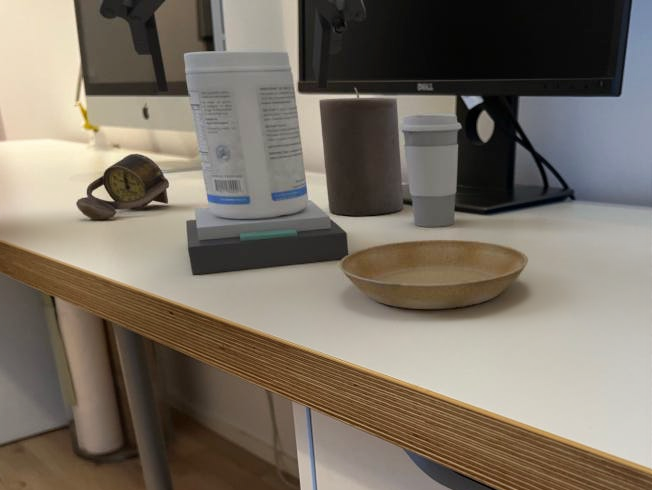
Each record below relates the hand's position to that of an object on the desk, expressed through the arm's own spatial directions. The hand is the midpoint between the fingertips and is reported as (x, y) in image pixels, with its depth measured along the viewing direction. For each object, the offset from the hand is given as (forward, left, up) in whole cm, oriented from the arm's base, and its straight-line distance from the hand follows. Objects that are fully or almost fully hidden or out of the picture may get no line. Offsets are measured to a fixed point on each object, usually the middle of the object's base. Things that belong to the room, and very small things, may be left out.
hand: (243, 78), depth 62 cm
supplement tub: (0, +3, -13) cm, 13 cm away
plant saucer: (+11, -19, -16) cm, 27 cm away
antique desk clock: (-15, +35, -16) cm, 41 cm away
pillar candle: (+15, +21, -16) cm, 30 cm away
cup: (+20, +8, -16) cm, 27 cm away
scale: (0, +2, -16) cm, 16 cm away
